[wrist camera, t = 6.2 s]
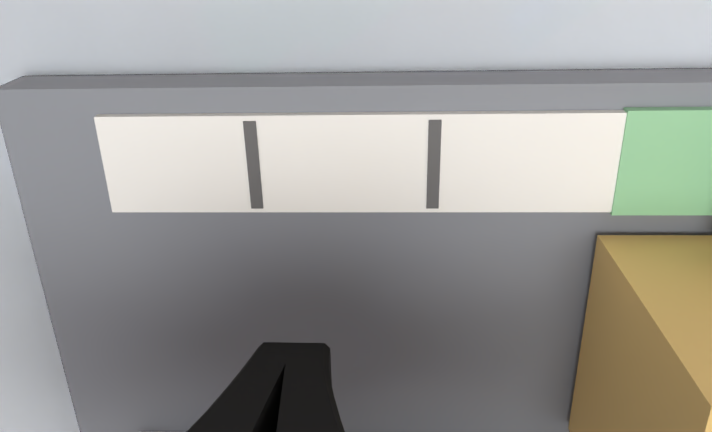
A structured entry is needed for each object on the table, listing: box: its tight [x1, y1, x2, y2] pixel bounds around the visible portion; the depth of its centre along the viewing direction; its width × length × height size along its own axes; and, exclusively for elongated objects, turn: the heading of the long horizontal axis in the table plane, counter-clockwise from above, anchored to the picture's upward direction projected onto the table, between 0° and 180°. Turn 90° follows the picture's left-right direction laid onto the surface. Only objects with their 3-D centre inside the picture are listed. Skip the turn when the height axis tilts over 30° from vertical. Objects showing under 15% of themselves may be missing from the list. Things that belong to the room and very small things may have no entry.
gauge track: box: [0, 68, 712, 432], centre depth 13 cm, size 11×22×6 cm, turn 91°
